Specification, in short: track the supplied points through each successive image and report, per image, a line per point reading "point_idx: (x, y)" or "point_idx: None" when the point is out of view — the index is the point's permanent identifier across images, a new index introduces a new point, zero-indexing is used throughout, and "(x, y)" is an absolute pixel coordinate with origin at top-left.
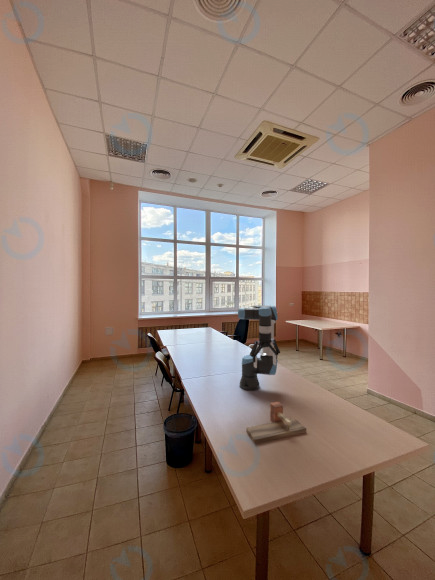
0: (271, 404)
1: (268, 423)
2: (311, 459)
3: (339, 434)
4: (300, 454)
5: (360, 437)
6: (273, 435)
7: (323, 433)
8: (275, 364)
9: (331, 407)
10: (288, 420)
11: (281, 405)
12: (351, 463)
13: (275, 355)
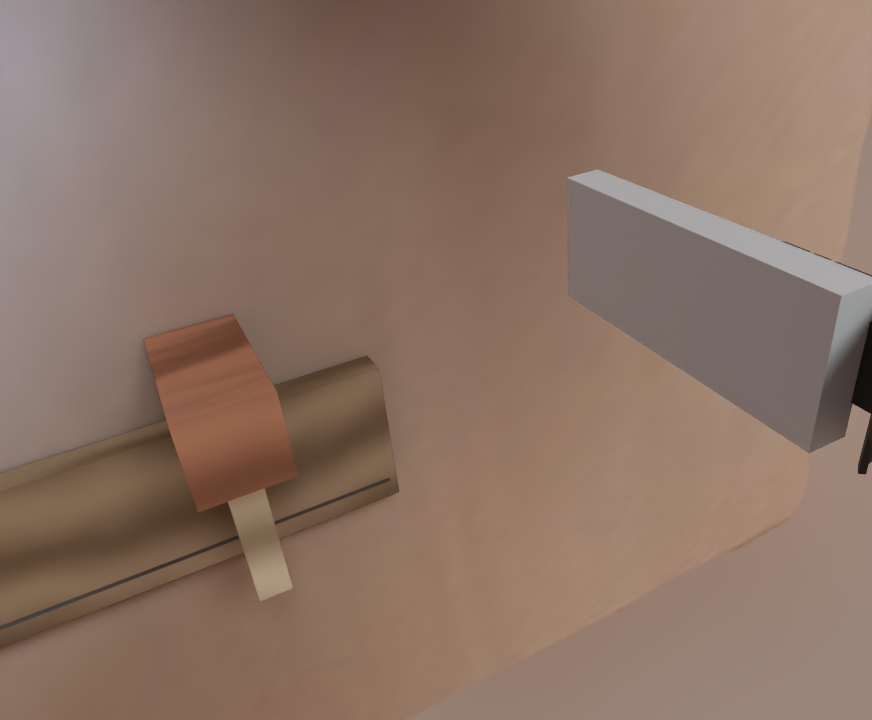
0: (174, 444)
1: (96, 464)
2: (297, 684)
3: (568, 470)
4: (250, 665)
5: (646, 482)
6: (103, 607)
7: (489, 471)
8: (586, 302)
9: (746, 159)
10: (277, 575)
11: (286, 468)
12: (473, 660)
13: (801, 441)
